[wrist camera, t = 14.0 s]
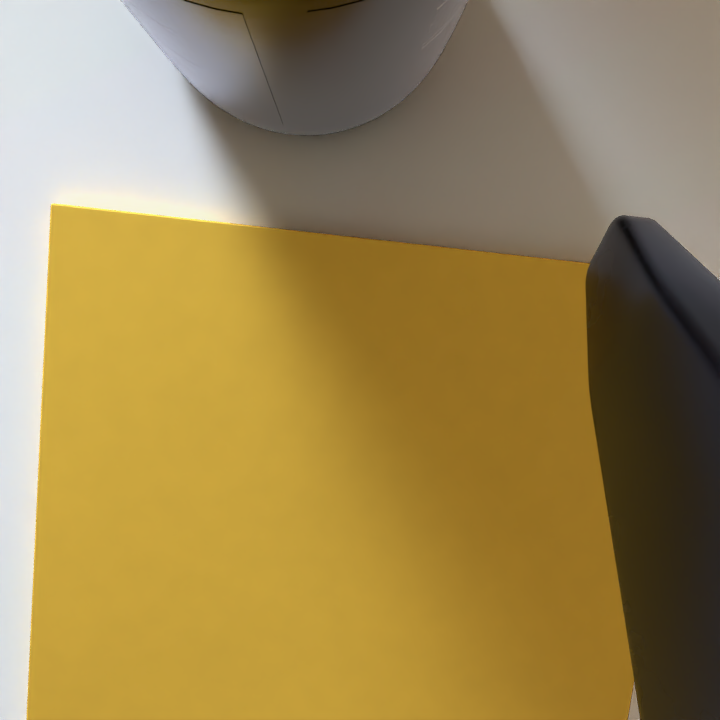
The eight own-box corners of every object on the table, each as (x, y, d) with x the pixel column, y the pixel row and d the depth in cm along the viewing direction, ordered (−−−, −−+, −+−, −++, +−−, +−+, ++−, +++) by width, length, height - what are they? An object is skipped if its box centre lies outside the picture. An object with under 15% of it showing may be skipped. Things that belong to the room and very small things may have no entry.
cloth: (578, 965, 19) (583, 979, 18) (21, 940, 18) (14, 955, 17) (695, 275, 16) (704, 275, 16) (56, 204, 15) (50, 202, 15)
